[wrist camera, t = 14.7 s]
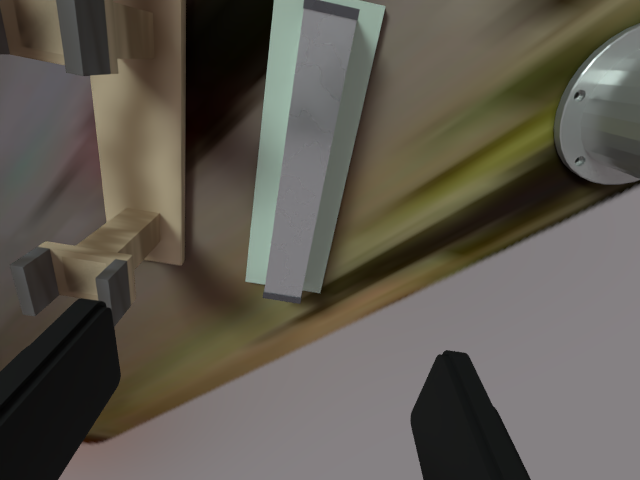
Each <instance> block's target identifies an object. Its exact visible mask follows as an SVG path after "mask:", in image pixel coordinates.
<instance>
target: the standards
mask: <svg viewBox="0 0 640 480" xmlns="http://www.w3.org/2000/svg"><path fill="white" fill-rule="evenodd" d="M0 54H10V55H15V56H21V57H26V58H31V59H36V60H41V61H46V62H51V63H56V64H61V65H65V68H66V73H71V74H76V75H81V76H90V78H91V87H92V96H93V105H94V114H95V123H96V132H97V140H98V149H99V158H100V167H101V176H102V185H103V194H104V203H105V212H106V220H107V223H106V224H104V225H103V226H102V227H100V228H99V229H98V230H96V231H95V232H94V233H92V234H91V235H90V236H88V237H87V238H86V239H84V240H83V241H81V242H80V243H79V244H77V245H76V246H72V245H66V244H60V243H53V242H47V241H46V242H44V243H43V244H41V245H40V246H38V247H37V248H35V249H33V250H32V251H30V252H29V253H27V254H26V255H24V256H23V257H21V258H20V259H18V260H17V261H15V262H13V263H12V264H10V269H11V273H12V276H13V280H14V284H15V287H16V291H17V295H18V298H19V302H20V306H21V309H22V313H23V315H30V316H36V315H37V314H38V313H39V312H41V311H42V310H43V309H44V308H45V307H46V306H47V305H48V304H50V303H51V302H52V301H53V300H54V299H55V298H56V297H57V296H59V295H63V296H70V297H77V298H83V299H90V300H97V301H103V302H105V303H106V306H107V307H108V308H110V309H111V310H112V316H113V323H114V326H115V325H116V324H117V323H118V321H119V320H120V319H121V318H122V316H123V315H124V314H125V312H126V311H127V310H128V309H129V307H130V306H131V305H132V304H133V302H134V301H135V300H136V291H135V278H134V270H135V269H136V268H137V267H138V265H139V264H140V263H141V262H142V261H143V260H148V261H155V262H161V263H167V264H174V265H180V266H182V264H183V263H184V261H185V103H186V0H0Z"/></svg>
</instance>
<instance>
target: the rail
mask: <svg viewBox="0 0 640 480" xmlns="http://www.w3.org/2000/svg"><path fill="white" fill-rule="evenodd" d="M303 9H304V11H303V18H302V25H301V32H300V39H299V46H298V54H297V61H296V68H295V75H294V82H293V89H292V97H291V104H290V111H289V118H288V125H287V132H286V139H285V147H284V154H283V161H282V168H281V175H280V182H279V190H278V197H277V204H276V211H275V218H274V225H273V233H272V240H271V247H270V254H269V261H268V268H267V275H266V283H265V289H264V293H263V298H267V299H273V300H280V301H286V302H293V303H299V304H300V302H301V295H302V289H303V284H304V279H305V274H306V269H307V264H308V259H309V254H310V249H311V245H312V240H313V235H314V230H315V225H316V220H317V215H318V210H319V205H320V200H321V195H322V190H323V185H324V180H325V175H326V170H327V165H328V160H329V155H330V150H331V146H332V141H333V136H334V131H335V126H336V121H337V116H338V111H339V106H340V101H341V96H342V91H343V86H344V81H345V76H346V71H347V66H348V61H349V56H350V52H351V47H352V42H353V37H354V32H355V27H356V22H357V20H358V16H359V11H360V9H356V8H352V7H348V6H343V5H339V4H334V3H330V2H326V1H321V0H304V4H303Z"/></svg>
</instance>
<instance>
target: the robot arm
mask: <svg viewBox="0 0 640 480" xmlns="http://www.w3.org/2000/svg"><path fill="white" fill-rule="evenodd" d="M574 95H575V96H574ZM554 141H555V145H556V149H557V152H558V154H559V156H560V158H561V160H562V162H563V163H564V164H565V165H566V166H567V167H568V168H569V169H570V171H572V172H573V173H575V174H577V175H578V176H580V177H582V178H584V179H587V180H589V181H591V182H595V183H600V184H605V185H620V184H625V183H631V182H635V181H638V180H640V23H639V24H637V25H634V26H632V27H629V28H627V29H625V30H624V31H622V32H620V33H619V34H617V35H615V36H614V37H612V38H610V39H609V40H608V41H606V42H605V43H604V44H603V45H601V46H600V47H599V48H598V49H596V50H595V51H594V52H593V53H592V54H591V55H590V56H589V57H588V58H587V60H586V61H585V62H584V63H583V64H582V65H581V66H580V67H579V69H578V70H577V72H576V73H575V74H574V76H573V77H572V79H571V80H570V81H569V83H568V85H567V87H566V89H565V91H564V93H563V95H562V97H561V100H560V103H559V106H558V109H557V112H556V117H555V123H554ZM120 377H121V373H120V366H119V359H118V352H117V345H116V338H115V330H114V323H113V316H112V310H111V309H110V308H108V307H107V306H106V303H105V302H103V301H97V300H90V299H83V298H81V299H78V300H77V301H75V302H74V303H73V304H72V305H71V306H70V307H69V308H68V309H67V310H66V311H65V312H64V313H63V314H62V315H61V316H60V317H59V318H58V319H57V320H56V321H55V322H54V323H52V324H51V325H50V326H49V327H48V328H47V329H46V330H45V331H44V332H43V333H42V334H41V335H40V336H39V337H38V338H37V339H36V340H35V341H34V342H33V343H32V344H31V345H30V346H28V347H26V348H25V349H24V350H23V351H21V352H20V353H19V354H18V355H17V356H16V357H15V358H14V359H13V360H12V361H11V362H10V363H9V364H8V365H7V366H6V367H5V368H4V369H3V370H2V371H1V372H0V480H58V479H59V477H60V476H61V474H62V473H63V471H64V469H65V468H66V466H67V465H68V463H69V461H70V460H71V458H72V457H73V455H74V454H75V452H76V451H77V449H78V448H79V446H80V444H81V443H82V441H83V440H84V438H85V437H86V435H87V434H88V432H89V430H90V429H91V427H92V426H93V424H94V423H95V421H96V419H97V418H98V416H99V415H100V413H101V412H102V410H103V409H104V407H105V405H106V404H107V402H108V401H109V399H110V398H111V396H112V394H113V393H114V391H115V390H116V388H117V386H118V384H119V381H120ZM411 427H412V432H413V435H414V440H415V445H416V449H417V453H418V458H419V462H420V466H421V471H422V475H423V479H424V480H531V479H530V477H529V475H528V473H527V471H526V469H525V467H524V465H523V463H522V461H521V459H520V457H519V454H518V452H517V450H516V448H515V446H514V444H513V442H512V440H511V438H510V436H509V434H508V432H507V430H506V428H505V426H504V424H503V422H502V419H501V418H500V416H499V414H498V412H497V410H496V409H495V407H493V405H492V403H491V401H490V399H489V397H488V395H487V393H486V391H485V389H484V387H483V385H482V383H481V380H480V379H479V376H478V374H477V372H476V370H475V368H474V366H473V364H472V362H471V360H470V358H469V356H468V355H467V354H466V353H462V352H455V351H448V350H446V351H444V352H443V354H442V355H438V356H437V357H436V360H435V362H434V364H433V366H432V368H431V371H430V373H429V375H428V377H427V379H426V382H425V384H424V386H423V388H422V391H421V393H420V395H419V397H418V399H417V401H416V404H415V406H414V408H413V411H412V413H411Z"/></svg>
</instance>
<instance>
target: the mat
mask: <svg viewBox="0 0 640 480" xmlns="http://www.w3.org/2000/svg"><path fill="white" fill-rule="evenodd" d="M321 1H326V2H330V3H334V4H339V5H343V6H348V7H352V8H356V9H360V11H359V16H358V20H357V22H356V27H355V32H354V37H353V42H352V47H351V52H350V56H349V61H348V66H347V71H346V76H345V81H344V86H343V91H342V96H341V101H340V106H339V111H338V116H337V121H336V126H335V131H334V136H333V141H332V146H331V150H330V155H329V160H328V165H327V170H326V175H325V180H324V185H323V190H322V195H321V200H320V205H319V210H318V215H317V220H316V225H315V230H314V235H313V240H312V245H311V249H310V254H309V259H308V264H307V269H306V274H305V279H304V284H303V289H302V290H303V291H309V292H316V293H320V292H321V288H322V283H323V279H324V274H325V270H326V266H327V261H328V257H329V252H330V248H331V244H332V239H333V235H334V230H335V226H336V222H337V217H338V213H339V209H340V204H341V200H342V195H343V191H344V187H345V182H346V178H347V173H348V169H349V165H350V160H351V156H352V151H353V147H354V143H355V138H356V134H357V129H358V125H359V121H360V116H361V112H362V108H363V103H364V99H365V94H366V90H367V86H368V81H369V77H370V72H371V68H372V64H373V59H374V55H375V50H376V46H377V42H378V37H379V33H380V29H381V24H382V20H383V15H384V11H385V7H386V6H382V5H378V4H373V3H369V2H364V1H360V0H321ZM303 4H304V0H274V7H273V17H272V26H271V36H270V46H269V56H268V66H267V75H266V85H265V95H264V105H263V114H262V124H261V134H260V144H259V154H258V163H257V173H256V183H255V193H254V203H253V212H252V222H251V232H250V242H249V252H248V261H247V271H246V281H245V282H252V283H258V284H264V285H265V283H266V275H267V268H268V261H269V254H270V247H271V240H272V233H273V225H274V218H275V211H276V204H277V197H278V190H279V182H280V175H281V168H282V161H283V154H284V147H285V139H286V132H287V125H288V118H289V111H290V104H291V97H292V89H293V82H294V75H295V68H296V61H297V54H298V46H299V39H300V32H301V25H302V18H303V11H304V9H303Z"/></svg>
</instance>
